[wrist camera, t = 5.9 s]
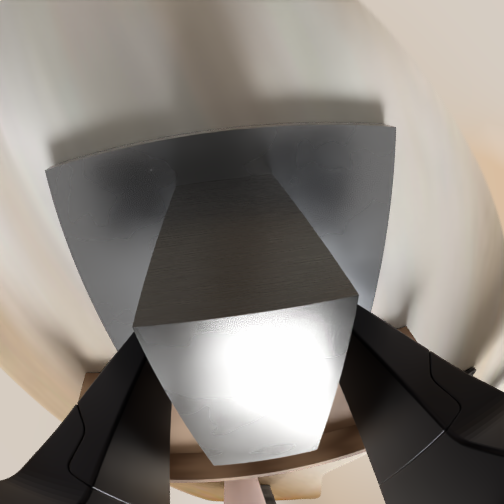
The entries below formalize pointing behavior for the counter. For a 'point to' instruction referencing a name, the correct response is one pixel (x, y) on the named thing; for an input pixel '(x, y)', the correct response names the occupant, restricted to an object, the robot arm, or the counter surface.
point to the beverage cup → (267, 494)
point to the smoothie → (243, 492)
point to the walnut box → (202, 470)
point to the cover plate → (143, 195)
